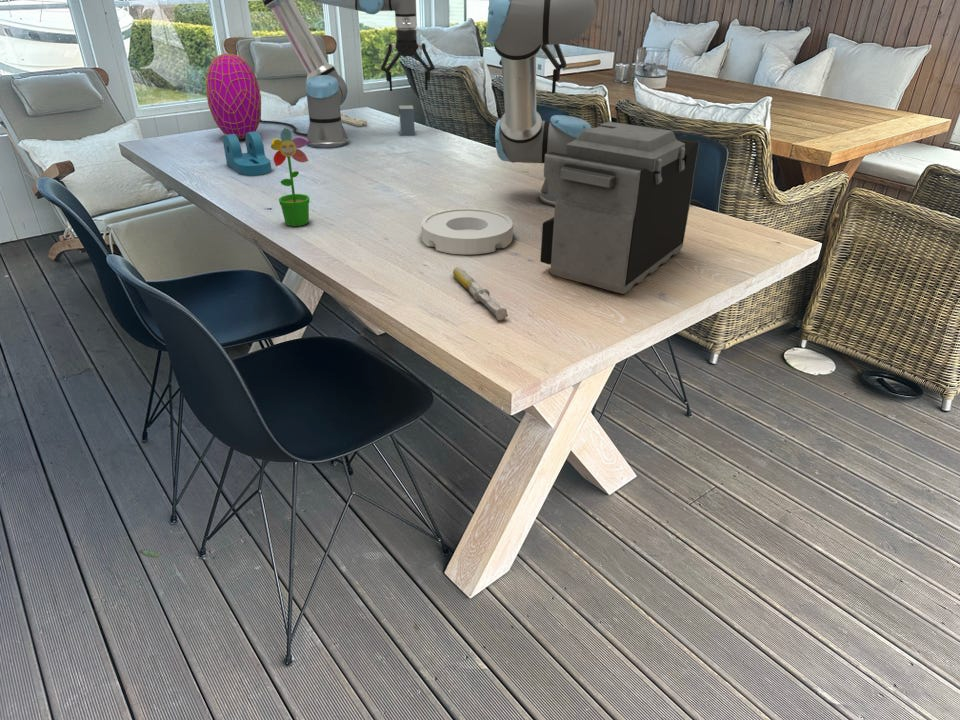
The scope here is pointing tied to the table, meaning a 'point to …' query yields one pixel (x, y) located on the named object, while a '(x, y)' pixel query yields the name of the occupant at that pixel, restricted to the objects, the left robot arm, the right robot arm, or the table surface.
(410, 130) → the block
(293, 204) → the potted flower
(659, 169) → the electronic device
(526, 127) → the right robot arm
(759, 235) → the table surface
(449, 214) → the ashtray
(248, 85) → the decorative egg
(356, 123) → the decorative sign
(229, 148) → the camera mount
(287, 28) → the left robot arm
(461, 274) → the syringe
